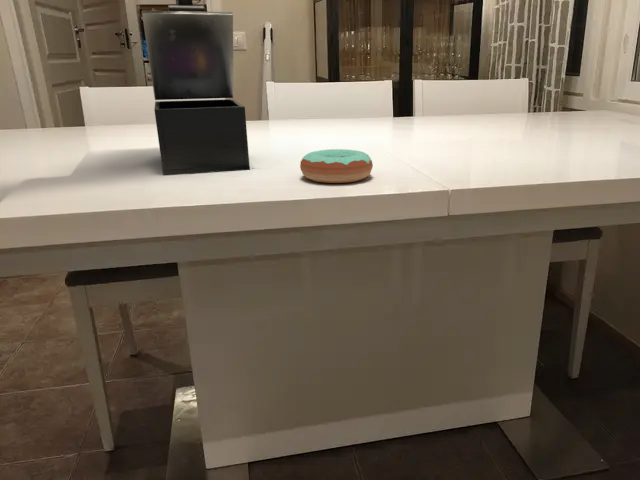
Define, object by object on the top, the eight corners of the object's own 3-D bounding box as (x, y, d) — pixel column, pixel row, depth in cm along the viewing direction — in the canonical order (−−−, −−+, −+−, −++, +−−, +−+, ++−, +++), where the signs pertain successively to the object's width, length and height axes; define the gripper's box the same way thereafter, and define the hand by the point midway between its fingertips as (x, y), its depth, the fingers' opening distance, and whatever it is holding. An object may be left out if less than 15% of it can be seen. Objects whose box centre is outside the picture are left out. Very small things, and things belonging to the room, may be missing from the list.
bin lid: (233, 14, 95) (228, -5, 98) (141, 13, 91) (139, -8, 93) (233, 98, 109) (229, 79, 112) (154, 100, 105) (152, 80, 108)
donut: (387, 179, 91) (387, 155, 89) (323, 189, 85) (323, 162, 83) (347, 167, 100) (347, 145, 99) (288, 175, 94) (286, 151, 92)
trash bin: (249, 169, 99) (244, 106, 95) (163, 175, 95) (154, 109, 91) (238, 154, 114) (233, 99, 110) (162, 158, 109) (155, 101, 105)
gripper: (200, -81, 92) (214, 71, 101) (195, -66, 104) (208, 69, 112) (152, -84, 90) (171, 71, 99) (153, -69, 101) (169, 69, 110)
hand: (191, 70), depth 106 cm, fingers closed
